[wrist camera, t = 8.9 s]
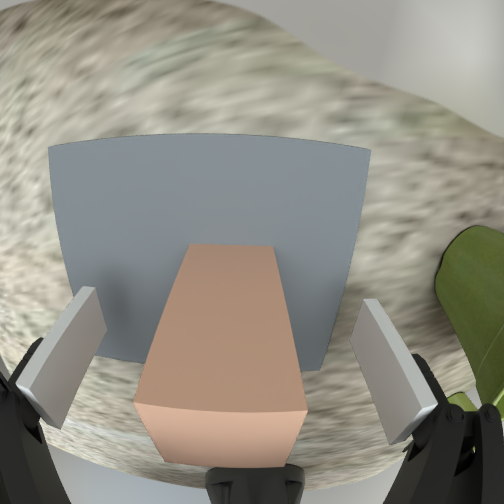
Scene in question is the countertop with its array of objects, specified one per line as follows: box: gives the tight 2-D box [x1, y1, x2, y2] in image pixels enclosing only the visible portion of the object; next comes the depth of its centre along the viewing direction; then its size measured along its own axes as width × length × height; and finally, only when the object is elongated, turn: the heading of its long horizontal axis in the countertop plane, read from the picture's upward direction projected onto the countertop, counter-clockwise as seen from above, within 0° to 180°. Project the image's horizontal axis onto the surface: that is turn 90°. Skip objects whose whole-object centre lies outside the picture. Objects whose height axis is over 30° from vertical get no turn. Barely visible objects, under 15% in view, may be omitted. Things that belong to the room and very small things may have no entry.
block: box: [133, 244, 308, 468], centre depth 12 cm, size 4×4×10 cm
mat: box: [48, 134, 371, 371], centre depth 16 cm, size 16×18×1 cm
